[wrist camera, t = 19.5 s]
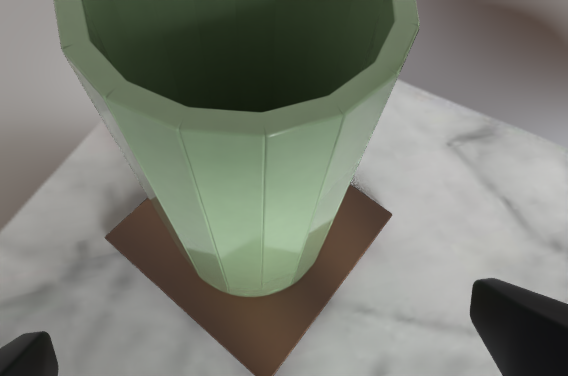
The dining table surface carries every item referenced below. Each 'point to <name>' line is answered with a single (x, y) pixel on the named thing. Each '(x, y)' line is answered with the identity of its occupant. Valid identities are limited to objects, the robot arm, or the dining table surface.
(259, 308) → the coaster
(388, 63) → the green cup
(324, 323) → the dining table surface
